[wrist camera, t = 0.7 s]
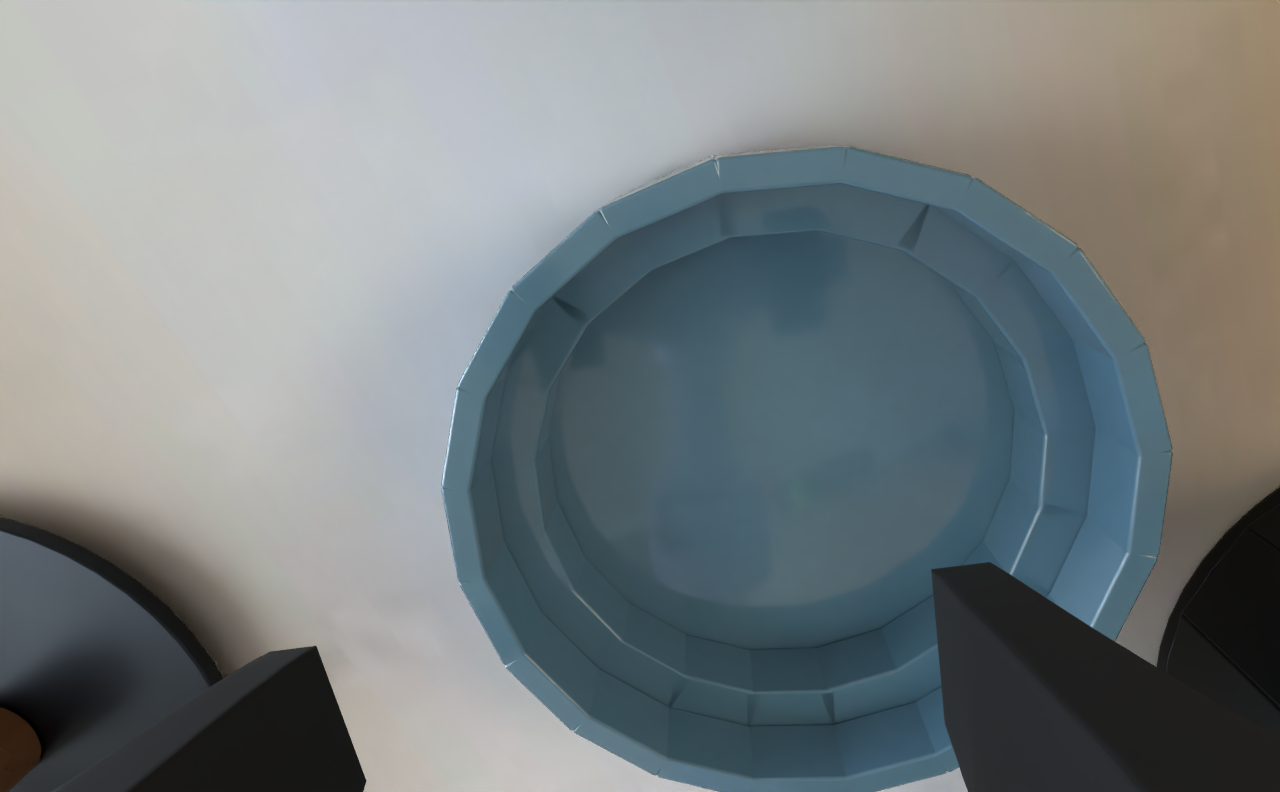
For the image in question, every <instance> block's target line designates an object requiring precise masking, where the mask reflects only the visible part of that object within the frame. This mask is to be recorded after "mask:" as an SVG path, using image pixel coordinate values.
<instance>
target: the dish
mask: <svg viewBox="0 0 1280 792" xmlns="http://www.w3.org/2000/svg"><path fill="white" fill-rule="evenodd" d="M1171 450H1172V444H1171V440H1170V436H1169V432H1168V428H1167V423H1166V419H1165V415H1164V411H1163V407H1162V403H1161V399H1160V394H1159V390H1158V386H1157V382H1156V378H1155V374H1154V369H1153V365H1152V361H1151V357H1150V353H1149V349H1148V345H1147V344H1146V343H1145V339H1144V337H1143V336H1142V334H1141V333H1140V331H1139V330H1138V329H1137V327H1136V326H1135V324H1134V323H1133V321H1132V320H1131V319H1130V317H1129V316H1128V314H1127V313H1126V312H1125V310H1124V309H1123V307H1122V306H1121V305H1120V303H1119V302H1118V300H1117V299H1116V298H1115V296H1114V295H1113V293H1112V292H1111V290H1110V289H1109V288H1108V286H1107V285H1106V283H1105V282H1104V281H1103V279H1102V278H1101V276H1100V275H1099V274H1098V272H1097V271H1096V269H1095V268H1094V267H1093V265H1092V264H1091V262H1090V261H1089V259H1088V258H1087V257H1086V255H1085V254H1084V252H1083V251H1082V250H1081V249H1080V248H1078V245H1077V244H1076V243H1075V242H1073V241H1071V240H1070V239H1068V238H1067V237H1065V236H1064V235H1062V234H1061V233H1059V232H1058V231H1056V230H1055V229H1053V228H1052V227H1050V226H1049V225H1047V224H1046V223H1044V222H1043V221H1041V220H1040V219H1038V218H1037V217H1035V216H1034V215H1032V214H1031V213H1029V212H1028V211H1026V210H1025V209H1023V208H1022V207H1020V206H1019V205H1017V204H1016V203H1014V202H1013V201H1011V200H1010V199H1008V198H1007V197H1005V196H1004V195H1002V194H1001V193H999V192H997V191H996V190H994V189H993V188H991V187H990V186H988V185H987V184H985V183H984V182H982V181H981V180H979V179H978V178H973V177H971V176H970V175H967V174H963V173H959V172H955V171H951V170H946V169H942V168H938V167H934V166H930V165H926V164H922V163H918V162H913V161H909V160H905V159H901V158H897V157H893V156H889V155H885V154H880V153H876V152H872V151H868V150H864V149H860V148H856V147H852V146H807V147H797V148H786V149H775V150H764V151H753V152H742V153H731V154H720V155H714V156H713V157H712V156H709V157H707V158H705V159H702V160H700V161H698V162H696V163H693V164H691V165H689V166H686V167H684V168H682V169H680V170H677V171H675V172H673V173H670V174H668V175H666V176H664V177H661V178H659V179H657V180H654V181H652V182H650V183H648V184H645V185H643V186H641V187H639V188H636V189H634V190H632V191H629V192H627V193H625V194H623V195H620V196H618V197H617V198H615V199H614V200H612V201H611V202H609V203H607V204H606V205H604V206H603V207H601V208H600V209H598V210H597V211H595V212H594V213H593V214H592V215H591V216H589V217H588V218H587V219H586V220H585V221H584V222H583V223H582V224H581V225H580V226H578V227H577V228H576V229H575V230H574V231H573V232H572V233H571V234H570V235H569V236H567V237H566V238H565V239H564V240H563V241H562V242H561V243H560V244H559V245H557V246H556V247H555V248H554V249H553V250H552V251H551V252H550V253H549V254H548V255H546V256H545V257H544V258H543V259H542V260H541V261H540V262H539V263H538V264H537V265H535V266H534V267H533V268H532V269H531V270H530V271H529V272H528V273H527V274H526V275H524V276H523V277H522V278H521V279H520V280H519V281H518V282H517V283H516V284H515V285H513V287H512V289H511V290H510V291H509V292H508V293H507V295H506V296H505V298H504V300H503V302H502V304H501V306H500V307H499V309H498V311H497V313H496V315H495V317H494V318H493V320H492V322H491V324H490V326H489V328H488V329H487V331H486V333H485V335H484V337H483V339H482V340H481V342H480V344H479V346H478V348H477V350H476V351H475V353H474V355H473V357H472V359H471V361H470V363H469V364H468V366H467V368H466V370H465V372H464V374H463V375H462V377H461V379H460V381H459V383H458V388H457V389H456V395H455V401H454V407H453V414H452V420H451V426H450V433H449V439H448V445H447V452H446V458H445V464H444V471H443V477H442V483H441V484H442V495H443V501H444V506H445V512H446V517H447V522H448V528H449V533H450V539H451V544H452V550H453V555H454V560H455V566H456V571H457V577H458V581H459V582H460V587H461V588H462V590H463V592H464V594H465V596H466V597H467V599H468V601H469V603H470V605H471V607H472V608H473V610H474V612H475V614H476V616H477V617H478V619H479V621H480V623H481V625H482V626H483V628H484V630H485V632H486V634H487V635H488V637H489V639H490V641H491V643H492V645H493V646H494V648H495V650H496V652H497V654H498V655H499V657H500V659H501V661H502V663H503V664H504V665H505V666H506V668H507V669H508V670H509V671H510V672H511V673H512V674H513V675H514V676H515V677H516V678H517V679H518V680H519V681H520V682H521V683H522V684H523V685H524V686H525V687H526V688H527V689H528V690H529V691H530V692H531V693H533V694H534V695H535V696H536V697H537V698H538V699H539V700H540V701H541V702H542V703H543V704H544V705H545V706H546V707H547V708H548V709H549V710H550V711H551V712H552V713H553V714H554V715H555V716H556V717H557V718H558V719H560V720H561V721H562V722H563V723H564V724H565V725H566V726H567V727H568V728H569V729H570V730H574V732H575V733H576V734H578V735H580V736H581V737H583V738H585V739H587V740H589V741H591V742H593V743H594V744H596V745H598V746H600V747H602V748H604V749H606V750H608V751H609V752H611V753H613V754H615V755H617V756H619V757H621V758H622V759H624V760H626V761H628V762H630V763H632V764H634V765H636V766H637V767H639V768H641V769H643V770H645V771H647V772H649V773H650V774H652V775H658V777H660V778H664V779H668V780H672V781H676V782H680V783H685V784H689V785H693V786H697V787H701V788H705V789H710V790H714V791H718V792H877V791H881V790H885V789H888V788H892V787H896V786H900V785H904V784H908V783H911V782H915V781H919V780H923V779H927V778H931V777H934V776H938V775H942V774H945V773H946V771H948V772H951V771H953V770H955V769H956V768H958V767H959V764H958V761H957V758H956V755H955V752H954V749H953V747H952V744H951V741H950V738H949V735H948V732H947V729H946V726H945V721H944V710H943V699H942V687H941V676H940V665H939V653H938V642H937V630H936V619H935V608H934V596H933V585H932V574H931V569H937V568H945V567H953V566H961V565H969V564H977V563H986V562H991V563H992V564H994V565H996V566H997V567H999V568H1001V569H1002V570H1004V571H1005V572H1007V573H1009V574H1010V575H1012V576H1013V577H1015V578H1016V579H1018V580H1019V581H1021V582H1023V583H1024V584H1026V585H1027V586H1029V587H1030V588H1032V589H1033V590H1035V591H1036V592H1038V593H1039V594H1041V595H1043V596H1044V597H1046V598H1047V599H1049V600H1050V601H1052V602H1053V603H1055V604H1056V605H1058V606H1059V607H1061V608H1063V609H1064V610H1066V611H1067V612H1069V613H1070V614H1072V615H1073V616H1075V617H1077V618H1078V619H1080V620H1081V621H1083V622H1084V623H1086V624H1087V625H1089V626H1091V627H1092V628H1094V629H1095V630H1097V631H1098V632H1100V633H1102V634H1103V635H1105V636H1106V637H1108V638H1110V639H1111V640H1113V641H1114V642H1115V640H1116V638H1117V636H1118V634H1119V632H1120V630H1121V629H1122V627H1123V625H1124V623H1125V621H1126V619H1127V617H1128V615H1129V613H1130V611H1131V609H1132V607H1133V605H1134V603H1135V601H1136V600H1137V598H1138V596H1139V594H1140V592H1141V590H1142V588H1143V586H1144V584H1145V582H1146V580H1147V578H1148V576H1149V574H1150V573H1151V571H1152V569H1153V567H1154V565H1155V563H1156V561H1157V555H1158V554H1159V551H1160V544H1161V536H1162V529H1163V521H1164V514H1165V507H1166V499H1167V492H1168V485H1169V477H1170V470H1171V462H1172V455H1173V454H1172V451H1171Z"/></svg>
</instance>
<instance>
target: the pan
mask: <svg viewBox="0 0 1280 792" xmlns="http://www.w3.org/2000/svg"><path fill="white" fill-rule="evenodd" d="M1157 668H1159V669H1160V670H1162V671H1164V672H1165V673H1167V674H1169V675H1170V676H1172V677H1174V678H1175V679H1177V680H1179V681H1181V682H1182V683H1184V684H1186V685H1188V686H1189V687H1191V688H1193V689H1194V690H1196V691H1198V692H1200V693H1201V694H1203V695H1205V696H1207V697H1208V698H1210V699H1212V700H1213V701H1215V702H1217V703H1219V704H1221V705H1223V706H1224V707H1226V708H1228V709H1230V710H1232V711H1234V712H1235V713H1237V714H1239V715H1241V716H1243V717H1244V718H1246V719H1248V720H1250V721H1252V722H1254V723H1255V724H1257V725H1259V726H1261V727H1263V728H1265V729H1266V730H1268V731H1270V732H1272V733H1274V734H1275V735H1277V736H1279V737H1280V488H1279V489H1278V490H1276V491H1275V492H1274V493H1272V494H1271V495H1270V496H1269V497H1267V498H1266V499H1265V500H1263V501H1262V502H1261V503H1259V504H1258V505H1257V506H1255V507H1254V508H1253V509H1252V510H1251V511H1249V512H1248V513H1247V514H1246V515H1245V516H1244V517H1243V518H1242V519H1241V520H1240V521H1239V522H1238V523H1237V524H1236V525H1235V526H1233V527H1232V528H1231V529H1230V530H1229V531H1228V532H1227V533H1226V534H1225V535H1224V536H1223V537H1222V539H1221V540H1220V541H1219V542H1218V543H1217V544H1216V546H1215V547H1214V548H1213V549H1212V550H1211V552H1210V553H1209V554H1208V555H1207V556H1206V557H1205V559H1204V560H1203V561H1202V562H1201V564H1200V565H1199V567H1198V568H1197V570H1196V571H1195V573H1194V574H1193V576H1192V577H1191V579H1190V580H1189V582H1188V583H1187V585H1186V586H1185V588H1184V589H1183V591H1182V593H1181V595H1180V597H1179V599H1178V601H1177V604H1176V606H1175V608H1174V610H1173V612H1172V614H1171V616H1170V618H1169V621H1168V624H1167V627H1166V630H1165V633H1164V636H1163V639H1162V642H1161V645H1160V650H1159V656H1158V663H1157Z"/></svg>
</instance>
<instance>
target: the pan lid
mask: <svg viewBox="0 0 1280 792" xmlns="http://www.w3.org/2000/svg"><path fill="white" fill-rule="evenodd" d="M222 679H223V677H222V676H221V674H220V672H219V671H218V669H217V667H216V666H215V664H214V662H213V660H212V659H211V657H210V656H209V655H208V653H207V652H206V651H205V649H204V648H203V647H202V645H201V644H200V643H199V641H198V640H197V639H196V638H195V636H194V635H193V634H192V632H191V631H190V630H189V629H188V628H187V627H186V626H185V625H184V624H183V623H182V622H181V621H180V619H179V618H178V617H177V616H176V615H175V614H174V613H173V612H172V611H171V610H170V609H169V608H168V607H167V606H166V605H165V604H164V603H162V602H161V601H160V600H159V599H158V598H157V597H155V596H154V595H153V594H152V593H151V592H150V591H149V590H147V589H146V588H145V587H144V586H143V585H142V584H140V583H139V582H137V581H136V580H135V579H133V578H132V577H130V576H129V575H127V574H126V573H125V572H123V571H122V570H120V569H119V568H117V567H116V566H115V565H113V564H112V563H110V562H108V561H106V560H105V559H103V558H101V557H99V556H98V555H96V554H94V553H92V552H90V551H89V550H87V549H85V548H83V547H82V546H80V545H78V544H75V543H73V542H71V541H68V540H66V539H64V538H62V537H59V536H57V535H55V534H52V533H50V532H48V531H45V530H42V529H39V528H36V527H33V526H30V525H27V524H23V523H20V522H17V521H14V520H10V519H5V518H0V792H52V791H54V790H55V789H57V788H58V787H60V786H62V785H63V784H65V783H66V782H68V781H69V780H71V779H72V778H74V777H75V776H77V775H78V774H80V773H81V772H83V771H84V770H86V769H87V768H89V767H90V766H92V765H93V764H95V763H96V762H98V761H99V760H101V759H102V758H104V757H105V756H107V755H108V754H110V753H111V752H113V751H114V750H116V749H117V748H119V747H120V746H122V745H123V744H125V743H126V742H128V741H129V740H131V739H132V738H134V737H135V736H137V735H138V734H140V733H141V732H143V731H144V730H146V729H147V728H149V727H150V726H152V725H153V724H155V723H156V722H158V721H159V720H161V719H162V718H164V717H165V716H167V715H168V714H170V713H171V712H173V711H174V710H176V709H177V708H179V707H180V706H182V705H183V704H185V703H186V702H188V701H189V700H191V699H192V698H194V697H195V696H197V695H198V694H200V693H201V692H203V691H204V690H206V689H207V688H209V687H211V686H212V685H214V684H215V683H217V682H218V681H220V680H222Z"/></svg>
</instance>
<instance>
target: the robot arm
mask: <svg viewBox="0 0 1280 792" xmlns="http://www.w3.org/2000/svg"><path fill="white" fill-rule="evenodd" d="M931 574H932V585H933V596H934V608H935V619H936V630H937V642H938V653H939V665H940V676H941V687H942V699H943V710H944V721H945V726H946V729H947V732H948V735H949V738H950V741H951V744H952V747H953V749H954V752H955V755H956V758H957V761H958V764H959V767H960V770H961V773H962V776H963V779H964V781H965V784H966V787H967V790H968V792H1280V737H1279V736H1277V735H1275V734H1274V733H1272V732H1270V731H1268V730H1266V729H1265V728H1263V727H1261V726H1259V725H1257V724H1255V723H1254V722H1252V721H1250V720H1248V719H1246V718H1244V717H1243V716H1241V715H1239V714H1237V713H1235V712H1234V711H1232V710H1230V709H1228V708H1226V707H1224V706H1223V705H1221V704H1219V703H1217V702H1215V701H1213V700H1212V699H1210V698H1208V697H1207V696H1205V695H1203V694H1201V693H1200V692H1198V691H1196V690H1194V689H1193V688H1191V687H1189V686H1188V685H1186V684H1184V683H1182V682H1181V681H1179V680H1177V679H1175V678H1174V677H1172V676H1170V675H1169V674H1167V673H1165V672H1164V671H1162V670H1160V669H1159V668H1157V667H1155V666H1154V665H1152V664H1150V663H1149V662H1147V661H1145V660H1144V659H1142V658H1140V657H1139V656H1137V655H1136V654H1134V653H1132V652H1131V651H1129V650H1127V649H1126V648H1124V647H1122V646H1121V645H1119V644H1118V643H1116V642H1114V641H1113V640H1111V639H1110V638H1108V637H1106V636H1105V635H1103V634H1102V633H1100V632H1098V631H1097V630H1095V629H1094V628H1092V627H1091V626H1089V625H1087V624H1086V623H1084V622H1083V621H1081V620H1080V619H1078V618H1077V617H1075V616H1073V615H1072V614H1070V613H1069V612H1067V611H1066V610H1064V609H1063V608H1061V607H1059V606H1058V605H1056V604H1055V603H1053V602H1052V601H1050V600H1049V599H1047V598H1046V597H1044V596H1043V595H1041V594H1039V593H1038V592H1036V591H1035V590H1033V589H1032V588H1030V587H1029V586H1027V585H1026V584H1024V583H1023V582H1021V581H1019V580H1018V579H1016V578H1015V577H1013V576H1012V575H1010V574H1009V573H1007V572H1005V571H1004V570H1002V569H1001V568H999V567H997V566H996V565H994V564H992V563H991V562H986V563H977V564H969V565H961V566H953V567H945V568H937V569H931ZM365 784H366V779H365V776H364V773H363V771H362V768H361V765H360V763H359V760H358V757H357V755H356V752H355V749H354V746H353V744H352V741H351V738H350V736H349V733H348V730H347V728H346V725H345V722H344V719H343V717H342V714H341V711H340V709H339V706H338V703H337V701H336V698H335V695H334V693H333V690H332V687H331V684H330V682H329V679H328V676H327V674H326V671H325V668H324V666H323V663H322V660H321V657H320V655H319V652H318V649H317V647H316V646H312V647H304V648H296V649H288V650H280V651H272V652H269V653H267V654H265V655H263V656H261V657H259V658H257V659H256V660H254V661H252V662H250V663H248V664H246V665H245V666H243V667H241V668H240V669H238V670H236V671H235V672H233V673H231V674H230V675H228V676H226V677H225V678H223V679H222V680H220V681H218V682H217V683H215V684H214V685H212V686H211V687H209V688H207V689H206V690H204V691H203V692H201V693H200V694H198V695H197V696H195V697H194V698H192V699H191V700H189V701H188V702H186V703H185V704H183V705H182V706H180V707H179V708H177V709H176V710H174V711H173V712H171V713H170V714H168V715H167V716H165V717H164V718H162V719H161V720H159V721H158V722H156V723H155V724H153V725H152V726H150V727H149V728H147V729H146V730H144V731H143V732H141V733H140V734H138V735H137V736H135V737H134V738H132V739H131V740H129V741H128V742H126V743H125V744H123V745H122V746H120V747H119V748H117V749H116V750H114V751H113V752H111V753H110V754H108V755H107V756H105V757H104V758H102V759H101V760H99V761H98V762H96V763H95V764H93V765H92V766H90V767H89V768H87V769H86V770H84V771H83V772H81V773H80V774H78V775H77V776H75V777H74V778H72V779H71V780H69V781H68V782H66V783H65V784H63V785H62V786H60V787H58V788H57V789H55V790H54V791H52V792H363V790H364V787H365Z"/></svg>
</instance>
